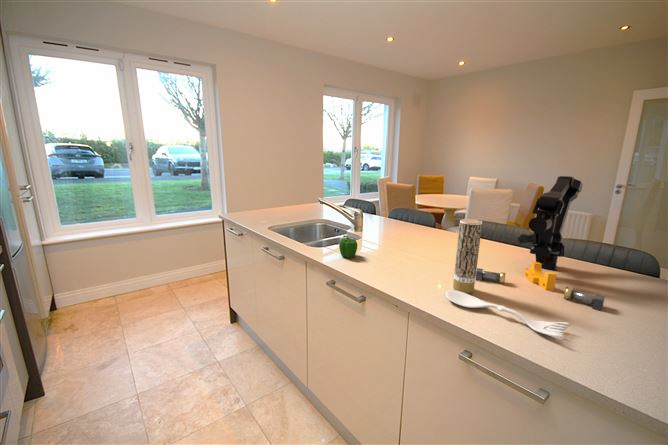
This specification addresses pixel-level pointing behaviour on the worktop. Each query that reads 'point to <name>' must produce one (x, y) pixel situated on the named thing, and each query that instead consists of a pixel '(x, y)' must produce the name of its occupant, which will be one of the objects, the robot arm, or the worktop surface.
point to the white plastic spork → (540, 326)
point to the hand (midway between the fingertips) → (538, 266)
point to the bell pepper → (348, 247)
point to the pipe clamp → (541, 276)
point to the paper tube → (467, 255)
